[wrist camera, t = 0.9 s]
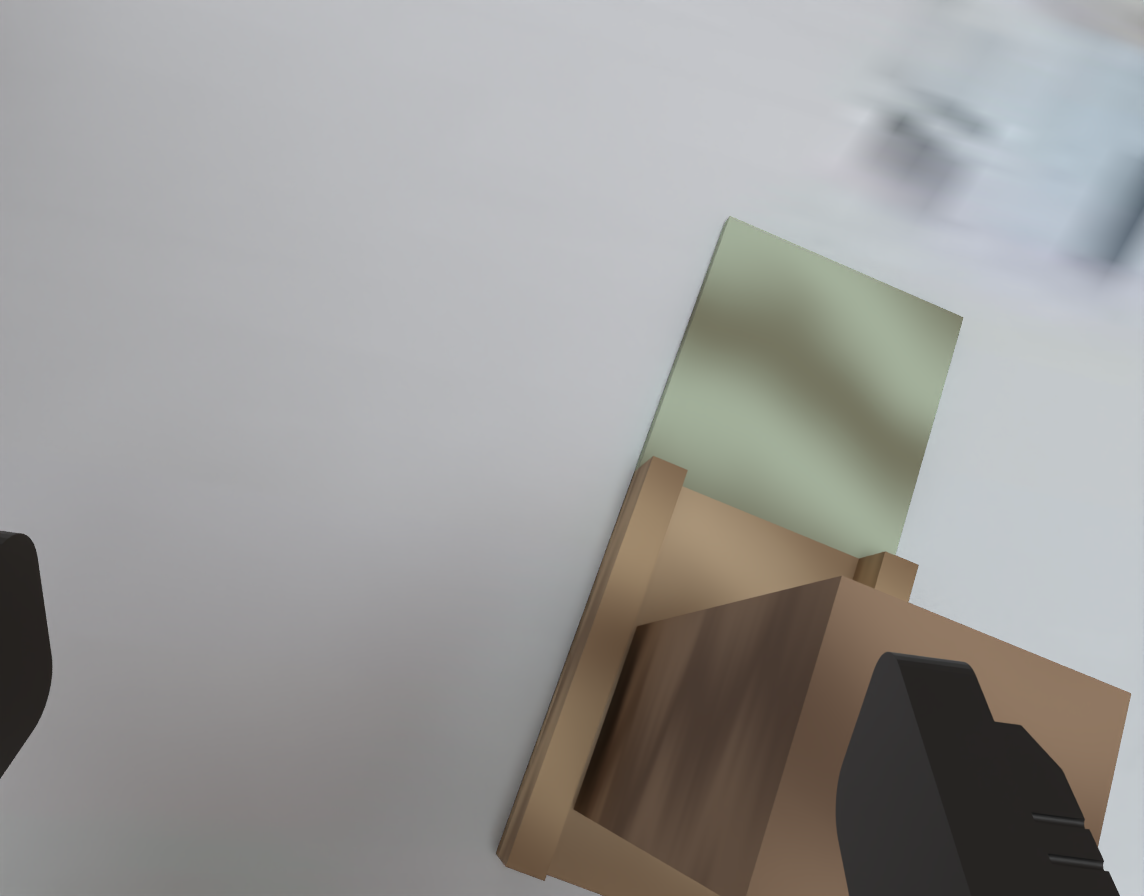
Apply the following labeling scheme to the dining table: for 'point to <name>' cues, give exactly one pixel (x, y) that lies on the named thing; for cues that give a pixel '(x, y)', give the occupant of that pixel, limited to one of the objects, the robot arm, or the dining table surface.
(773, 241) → the chute
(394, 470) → the dining table surface
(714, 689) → the block
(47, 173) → the dining table surface
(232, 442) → the dining table surface
